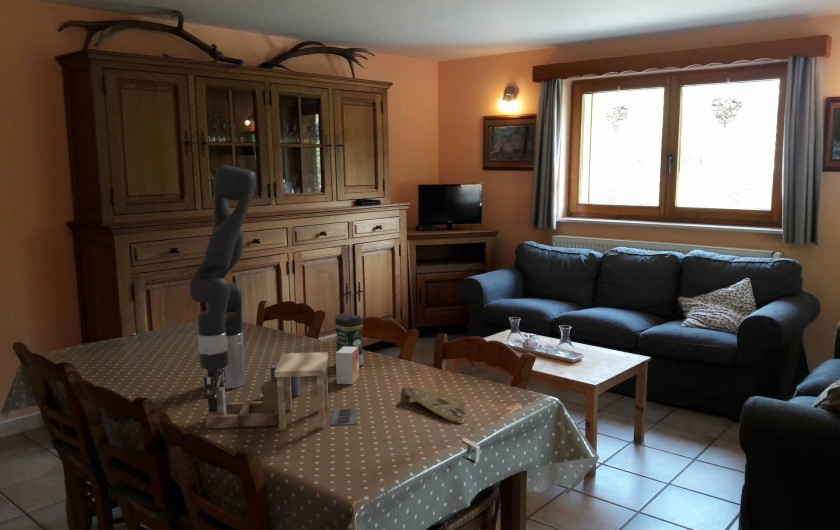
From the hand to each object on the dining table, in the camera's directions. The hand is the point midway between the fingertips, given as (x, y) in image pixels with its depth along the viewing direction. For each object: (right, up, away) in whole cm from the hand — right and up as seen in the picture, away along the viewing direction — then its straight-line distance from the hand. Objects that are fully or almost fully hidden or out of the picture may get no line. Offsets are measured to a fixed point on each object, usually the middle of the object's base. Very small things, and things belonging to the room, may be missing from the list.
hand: (216, 406), depth 185 cm
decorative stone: (+63, -3, +9) cm, 64 cm away
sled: (+8, -4, +1) cm, 9 cm away
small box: (+33, +1, +35) cm, 48 cm away
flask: (+15, -1, +22) cm, 26 cm away
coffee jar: (+31, +3, +52) cm, 60 cm away
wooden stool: (+28, -4, +3) cm, 28 cm away
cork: (+15, -4, +1) cm, 16 cm away
